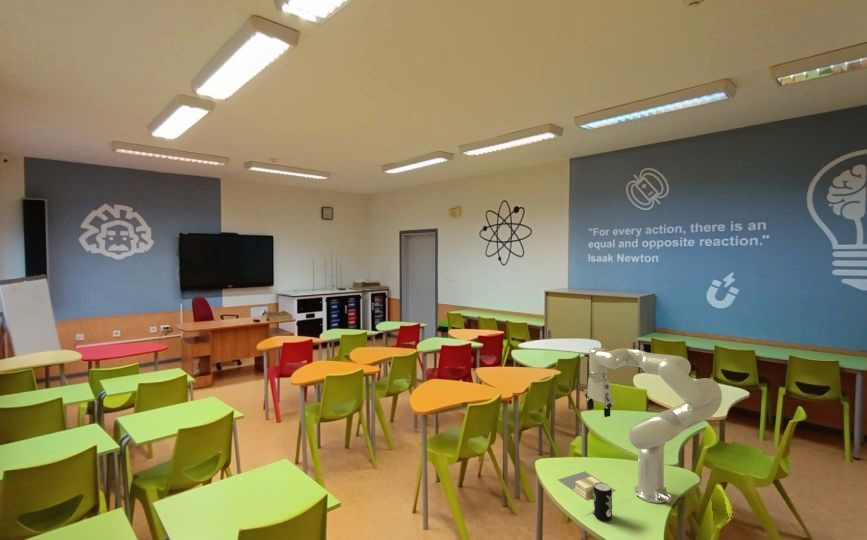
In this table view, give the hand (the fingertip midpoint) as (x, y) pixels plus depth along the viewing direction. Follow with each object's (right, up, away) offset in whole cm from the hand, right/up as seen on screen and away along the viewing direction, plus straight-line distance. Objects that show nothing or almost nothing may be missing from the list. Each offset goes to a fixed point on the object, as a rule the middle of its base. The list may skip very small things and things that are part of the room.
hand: (598, 412), depth 194 cm
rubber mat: (-9, -29, -9) cm, 32 cm away
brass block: (-10, -28, -14) cm, 33 cm away
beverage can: (-10, -30, -30) cm, 44 cm away
